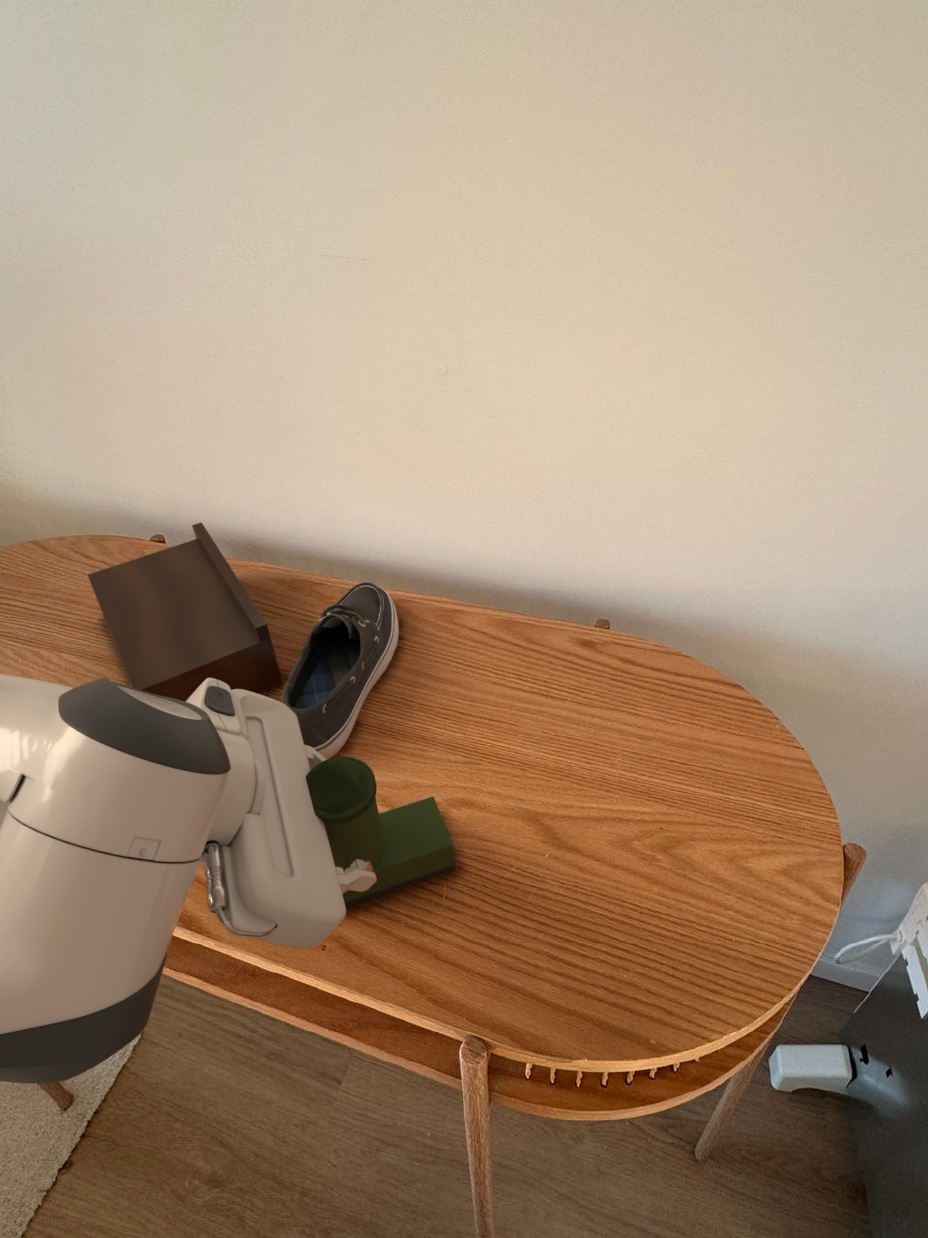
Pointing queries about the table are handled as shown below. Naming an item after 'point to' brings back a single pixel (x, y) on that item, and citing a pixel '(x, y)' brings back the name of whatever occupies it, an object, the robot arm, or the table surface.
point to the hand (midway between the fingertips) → (354, 826)
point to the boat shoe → (341, 666)
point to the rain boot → (377, 829)
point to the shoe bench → (185, 621)
